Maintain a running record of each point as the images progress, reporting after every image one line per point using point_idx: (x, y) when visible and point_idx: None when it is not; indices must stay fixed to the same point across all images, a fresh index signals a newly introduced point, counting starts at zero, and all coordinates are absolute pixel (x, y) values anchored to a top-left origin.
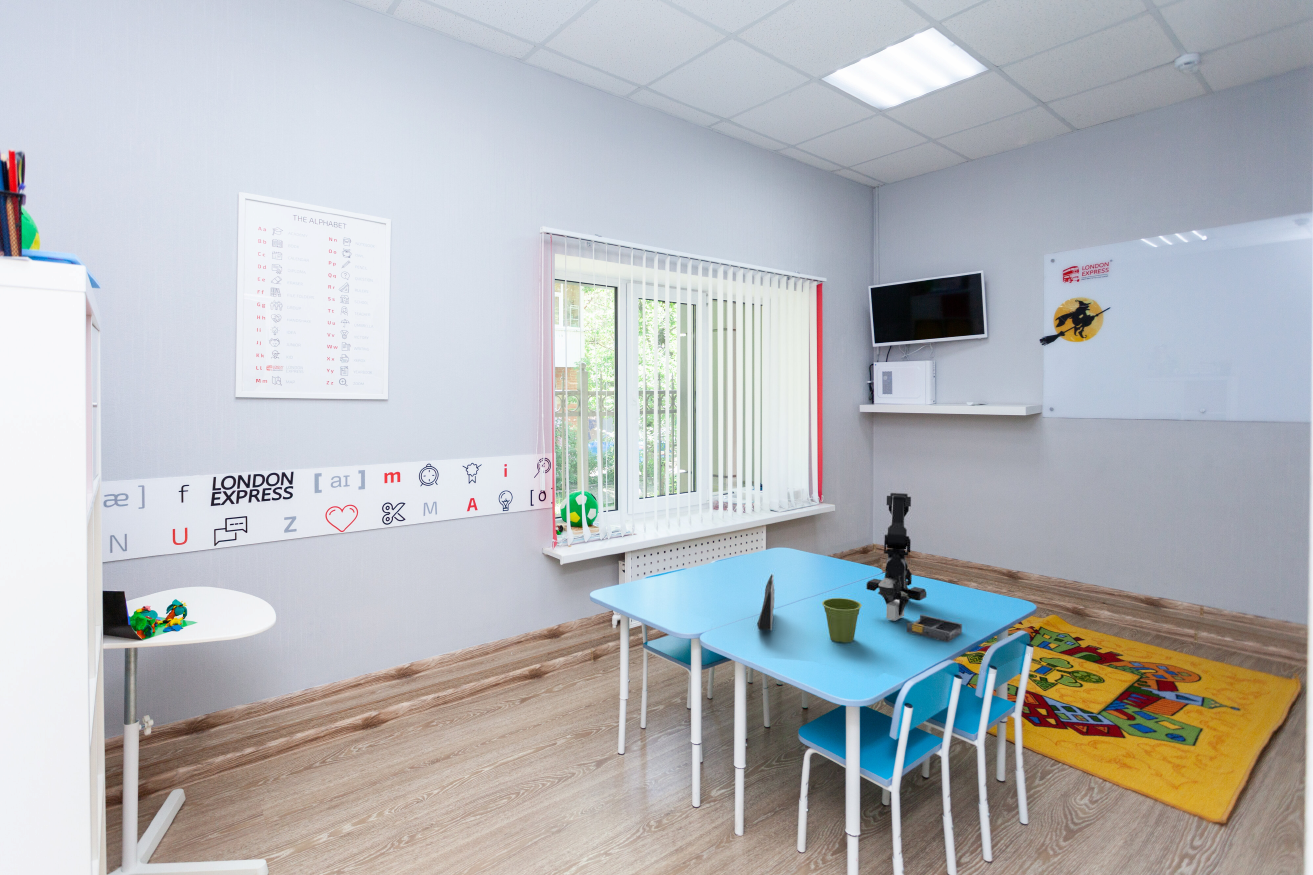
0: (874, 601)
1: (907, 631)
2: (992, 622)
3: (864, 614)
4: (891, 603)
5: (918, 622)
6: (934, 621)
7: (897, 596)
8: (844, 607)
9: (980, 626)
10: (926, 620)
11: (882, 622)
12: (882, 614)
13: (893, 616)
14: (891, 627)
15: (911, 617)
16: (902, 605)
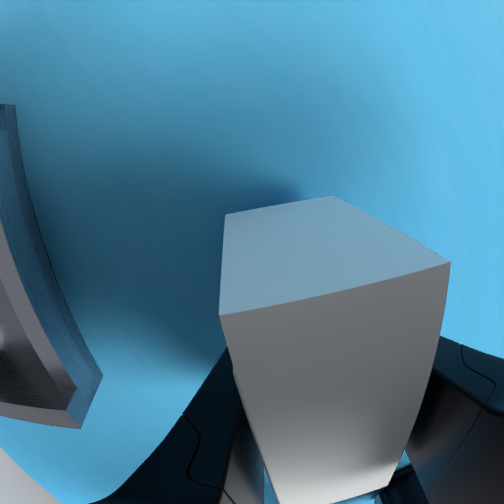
0: None
1: (7, 107)
2: (56, 493)
3: (500, 187)
4: (387, 382)
5: (13, 302)
6: (1, 385)
7: (413, 486)
8: None
9: (24, 460)
10: (38, 384)
11: (316, 106)
12: None
13: (248, 224)
14: (155, 56)
15: None
16: (164, 439)
